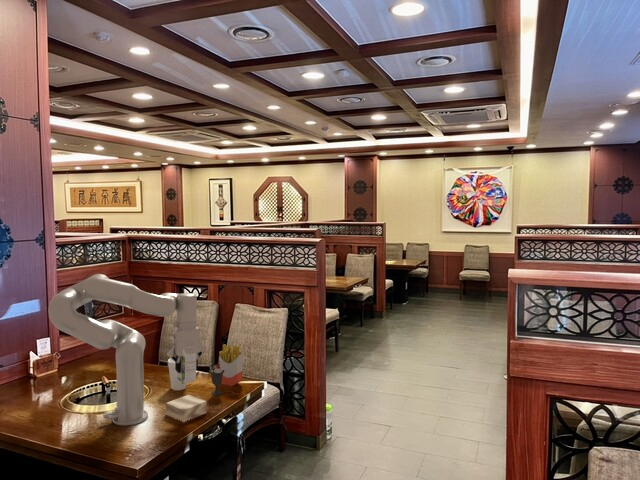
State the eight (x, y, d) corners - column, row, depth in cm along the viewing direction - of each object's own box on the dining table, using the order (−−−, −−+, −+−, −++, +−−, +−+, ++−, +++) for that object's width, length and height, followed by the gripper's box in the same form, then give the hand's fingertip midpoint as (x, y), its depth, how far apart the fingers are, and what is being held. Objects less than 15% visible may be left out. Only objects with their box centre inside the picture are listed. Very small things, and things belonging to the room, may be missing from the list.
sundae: (221, 396, 202) (221, 362, 201) (206, 395, 204) (206, 361, 203) (227, 391, 209) (227, 358, 208) (213, 389, 210) (213, 357, 209)
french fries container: (236, 387, 213) (236, 348, 212) (217, 383, 218) (217, 345, 217) (242, 384, 217) (242, 346, 216) (223, 380, 222) (224, 343, 221)
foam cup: (178, 382, 218) (178, 355, 217) (193, 386, 214) (194, 358, 213) (163, 389, 210) (163, 360, 209) (178, 393, 205) (178, 364, 205)
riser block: (183, 423, 177) (183, 410, 177) (165, 415, 184) (165, 402, 184) (206, 413, 186) (206, 401, 186) (188, 406, 193) (188, 394, 192)
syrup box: (176, 380, 185) (176, 344, 184) (191, 377, 188) (190, 341, 187) (182, 384, 180) (182, 347, 179) (196, 381, 184) (196, 345, 183)
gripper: (168, 330, 175) (168, 377, 176) (211, 324, 185) (211, 368, 186) (161, 326, 181) (161, 372, 182) (203, 320, 191) (203, 363, 192)
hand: (186, 370), depth 184 cm, fingers closed on syrup box, 5 cm apart
